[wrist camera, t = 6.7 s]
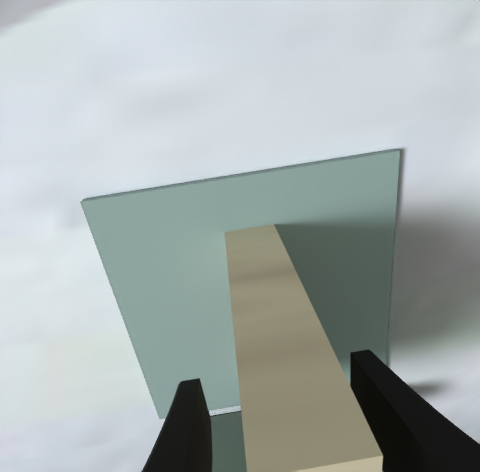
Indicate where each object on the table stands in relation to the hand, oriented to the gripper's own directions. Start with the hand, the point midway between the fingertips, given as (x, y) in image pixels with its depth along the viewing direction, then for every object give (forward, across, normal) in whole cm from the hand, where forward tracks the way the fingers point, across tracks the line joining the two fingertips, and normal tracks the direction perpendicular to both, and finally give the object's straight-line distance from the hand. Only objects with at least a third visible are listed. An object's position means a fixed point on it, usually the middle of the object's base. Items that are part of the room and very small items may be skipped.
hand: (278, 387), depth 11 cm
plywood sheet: (+4, 0, 0) cm, 4 cm away
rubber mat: (+5, 0, 0) cm, 5 cm away
